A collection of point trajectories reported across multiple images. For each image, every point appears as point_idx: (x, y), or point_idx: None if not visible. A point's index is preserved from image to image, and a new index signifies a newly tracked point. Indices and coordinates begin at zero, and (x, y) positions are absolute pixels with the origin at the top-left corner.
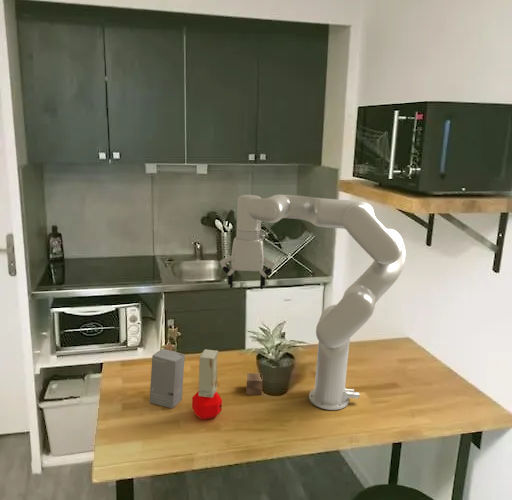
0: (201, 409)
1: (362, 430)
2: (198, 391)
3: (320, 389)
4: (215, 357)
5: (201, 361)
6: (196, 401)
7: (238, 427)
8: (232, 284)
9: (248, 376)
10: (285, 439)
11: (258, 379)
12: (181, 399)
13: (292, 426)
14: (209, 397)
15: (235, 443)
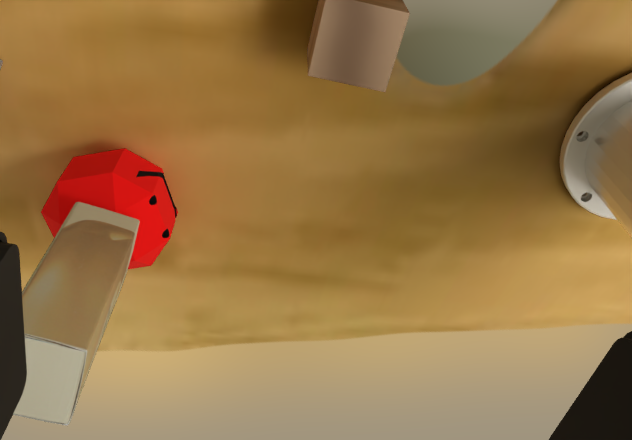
0: None
1: (625, 314)
2: (58, 225)
3: (611, 209)
4: (77, 399)
5: None
6: None
7: (237, 261)
8: (6, 340)
9: (325, 34)
10: (371, 326)
11: (370, 72)
12: (1, 64)
13: (418, 275)
14: None
15: (218, 326)
